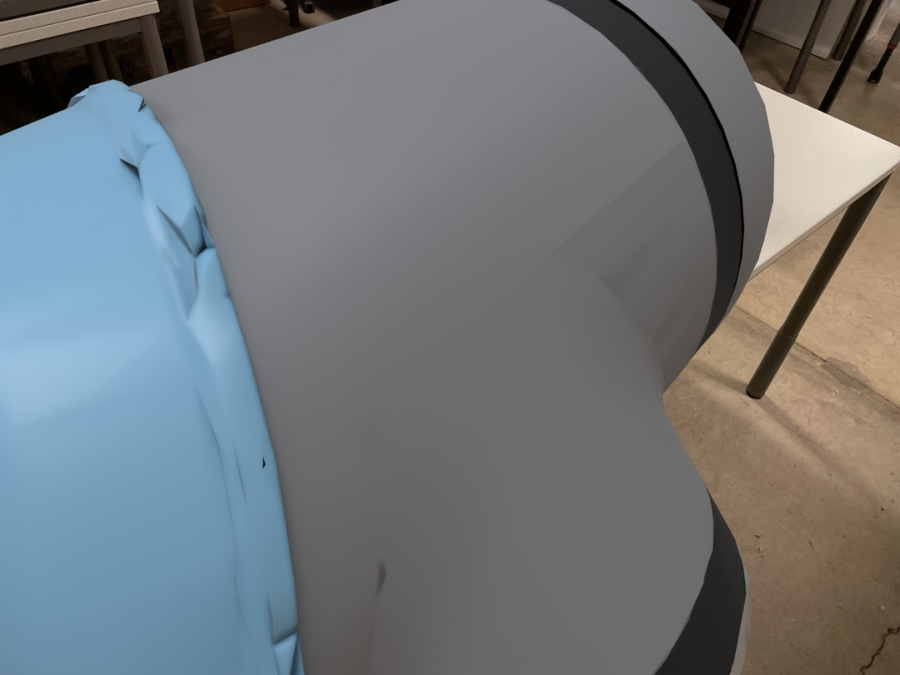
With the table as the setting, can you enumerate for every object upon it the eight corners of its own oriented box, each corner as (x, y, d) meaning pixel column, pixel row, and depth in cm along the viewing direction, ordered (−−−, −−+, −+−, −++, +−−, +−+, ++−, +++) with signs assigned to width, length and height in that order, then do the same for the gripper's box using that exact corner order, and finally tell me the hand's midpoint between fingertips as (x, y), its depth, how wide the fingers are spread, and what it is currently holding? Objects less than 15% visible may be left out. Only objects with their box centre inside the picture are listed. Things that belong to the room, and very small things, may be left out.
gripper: (168, 337, 60) (398, 263, 69) (212, 442, 52) (464, 342, 62) (146, 273, 54) (399, 203, 64) (192, 380, 47) (471, 282, 56)
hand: (431, 271), depth 63 cm, fingers closed
